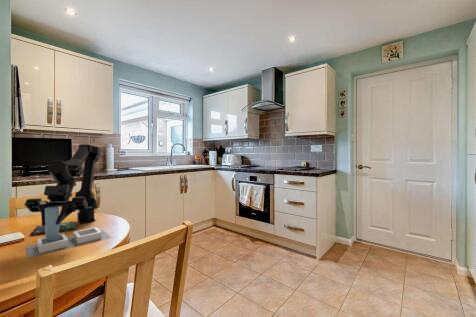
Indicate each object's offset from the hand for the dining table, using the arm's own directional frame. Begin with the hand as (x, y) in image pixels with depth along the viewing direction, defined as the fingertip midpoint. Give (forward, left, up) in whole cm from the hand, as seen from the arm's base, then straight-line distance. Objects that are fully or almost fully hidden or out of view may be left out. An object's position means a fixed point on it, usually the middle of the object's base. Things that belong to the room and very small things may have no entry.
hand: (50, 224), depth 81 cm
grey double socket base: (-6, -1, -9) cm, 11 cm away
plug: (-1, -1, -6) cm, 6 cm away
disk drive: (-4, -22, -10) cm, 25 cm away
